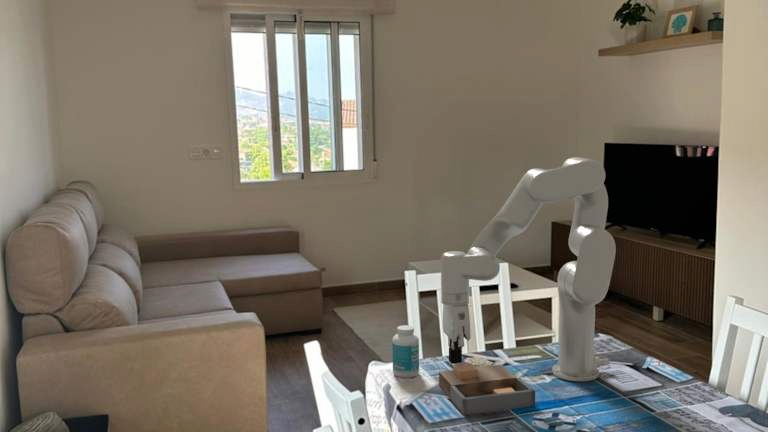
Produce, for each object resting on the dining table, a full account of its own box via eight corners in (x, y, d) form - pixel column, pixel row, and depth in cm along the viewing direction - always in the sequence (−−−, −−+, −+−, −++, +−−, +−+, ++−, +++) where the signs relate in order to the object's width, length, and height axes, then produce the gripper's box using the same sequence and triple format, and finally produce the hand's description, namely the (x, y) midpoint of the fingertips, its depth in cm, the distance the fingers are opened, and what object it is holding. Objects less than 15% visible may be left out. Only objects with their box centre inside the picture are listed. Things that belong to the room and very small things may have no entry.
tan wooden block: (501, 378, 190) (501, 364, 190) (517, 392, 181) (517, 377, 180) (439, 385, 186) (439, 371, 185) (452, 400, 176) (451, 385, 176)
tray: (519, 392, 181) (519, 377, 180) (535, 405, 172) (535, 390, 172) (450, 400, 176) (450, 385, 175) (463, 415, 167) (463, 399, 167)
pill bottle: (417, 379, 191) (416, 332, 189) (390, 378, 192) (389, 331, 190) (421, 369, 198) (420, 324, 196) (395, 368, 199) (394, 323, 197)
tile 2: (519, 394, 173) (519, 402, 173) (511, 387, 177) (511, 394, 178) (500, 397, 171) (500, 404, 172) (492, 389, 176) (492, 397, 176)
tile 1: (470, 370, 186) (470, 362, 186) (477, 376, 181) (477, 369, 181) (453, 372, 185) (453, 364, 185) (460, 378, 180) (460, 371, 180)
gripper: (478, 303, 181) (478, 370, 184) (458, 289, 196) (458, 352, 198) (451, 305, 179) (451, 373, 182) (433, 291, 194) (433, 354, 196)
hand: (455, 362), depth 190 cm, fingers closed
